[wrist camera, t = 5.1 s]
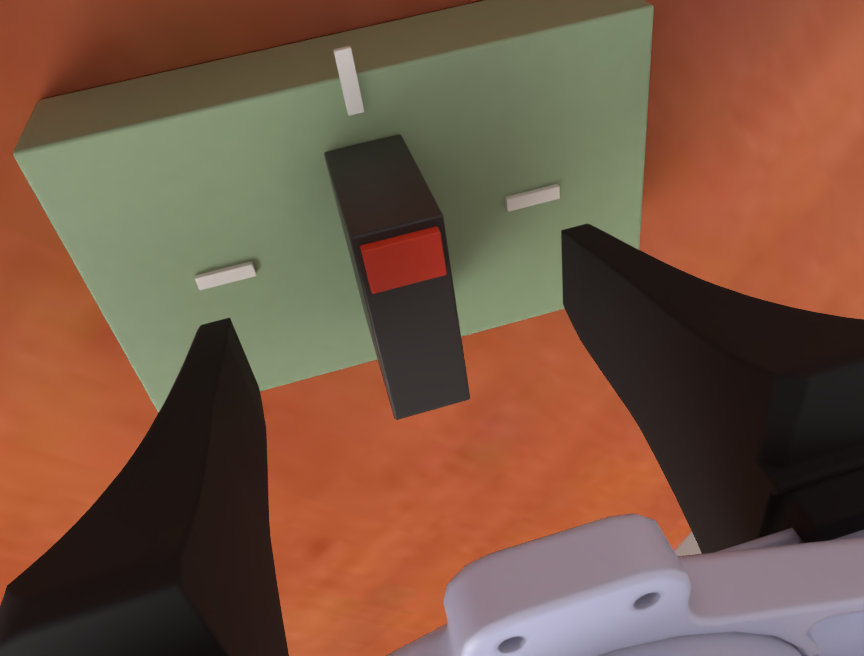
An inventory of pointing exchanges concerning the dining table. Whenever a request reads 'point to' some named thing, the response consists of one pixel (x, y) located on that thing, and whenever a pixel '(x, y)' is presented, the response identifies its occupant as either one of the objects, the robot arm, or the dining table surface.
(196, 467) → the robot arm
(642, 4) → the green toggle switch panel
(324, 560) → the dining table surface
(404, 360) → the grey box red tab
